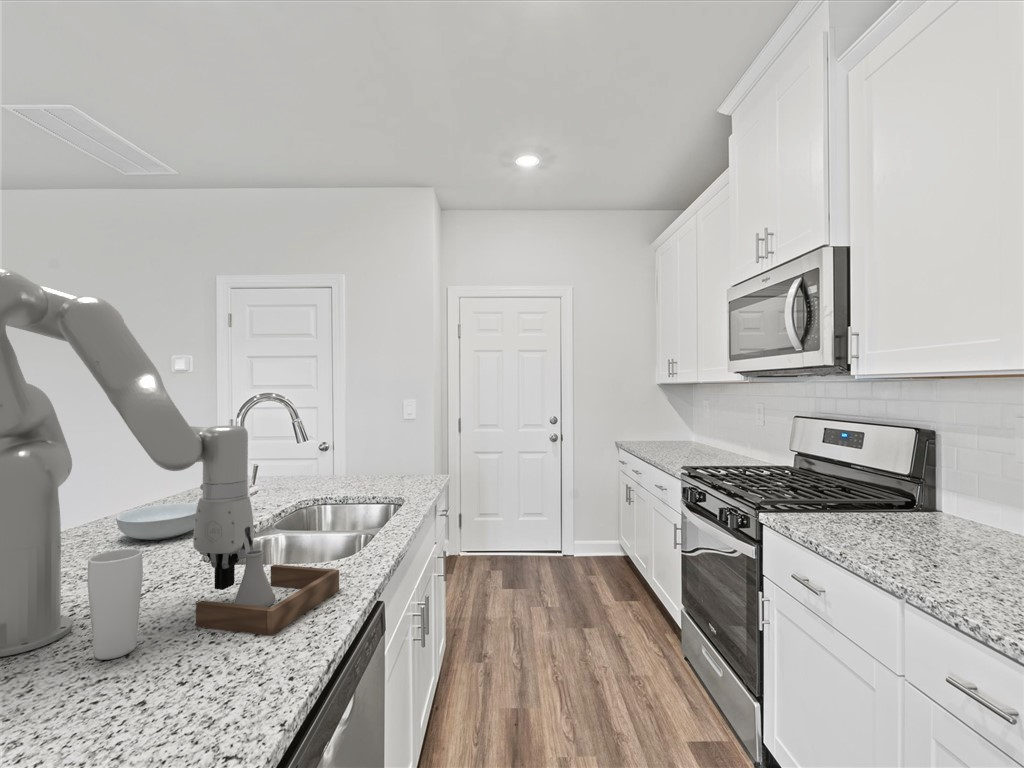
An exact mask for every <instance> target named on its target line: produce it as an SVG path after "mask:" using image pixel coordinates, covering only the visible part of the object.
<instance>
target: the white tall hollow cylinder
mask: <svg viewBox="0 0 1024 768" xmlns="http://www.w3.org/2000/svg"><path fill="white" fill-rule="evenodd" d="M87 563H88V564H87V594H88V604H89V605H88V606H89V612H90V622H91V631H92V632H91V633H92V643H93V649H92V650H93V651H92V652H93V657H94V658H95V659H97V660H101V661H102V660H103V661H104V660H105V661H107V660H113V659H117V658H121V657H123V656H126V655H128V654H130V653H131V652H132V651H134V650H135V649H136V647H137V645H138V629H139V628H138V627H139V625H138V624H139V616H140V609H141V599H142V598H141V597H142V587H143V573H144V572H143V570H144V567H143V566H144V565H143V551H142V550H141V549H139V548H138V549H137V548H124V549H123V548H122V549H116V550H110V551H109V550H108V551H106V552H104V551H103V552H101V553H98V554H95V555H92V556H91V557H90V558H89V559H88V562H87Z"/></svg>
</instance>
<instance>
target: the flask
mask: <svg viewBox="0 0 1024 768" xmlns="http://www.w3.org/2000/svg"><path fill="white" fill-rule="evenodd" d="M250 551H251V554H247V553H244V557H246V558H245V567H244V572H243V575H242V579H241V581H240V584H239V587H238V590H237V592H236V596H235V597H234V600H233V602H232V604H241V605H251V606H261V607H270V606H273V604H274V603H275V600H276V596H275V593H274V591H273V589H272V586H271V583H270V581H269V580H268V577H267V574H266V572H265V570H264V565H263V554H264V551H265V550H263V549H250Z"/></svg>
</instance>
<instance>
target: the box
mask: <svg viewBox="0 0 1024 768" xmlns="http://www.w3.org/2000/svg"><path fill="white" fill-rule="evenodd" d="M270 586H271V587H279V588H289V589H290V588H291V589H299V590H298V591H296V592H294V593H292V594H291V595H289V596H287V597H286V598H285V599H283V600H281V601H279V602H278V603H276V604H274V605H272V606H271V607H270V606H268V607H261V606H251V605H241V604H233V603H229V602H223V601H222V602H219V601H211V600H199V601H197V602H196V603H195V627H196V628H204V629H214V630H220V631H221V630H222V631H231V632H239V633H244V634H245V633H248V634H254V635H264V636H274V635H275V634H277V633H278V632H280V631H281V630H283V629H285V628H287V626H289V625H290V624H291V623H293V622H294V621H296V620H298V619H299V618H300V617H302V616H303V615H305V614H306V613H308V612H309V611H310V610H312V609H313V608H314V607H316V606H318V605H319V604H321V603H322V602H323V601H325V600H327V599H328V598H329V597H331V596H332V595H333V594H335V593H336V592H338V591H340V569H336V568H335V569H334V568H321V567H308V566H299V565H285V564H272V565H270Z"/></svg>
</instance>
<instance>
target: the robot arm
mask: <svg viewBox="0 0 1024 768" xmlns="http://www.w3.org/2000/svg"><path fill="white" fill-rule="evenodd" d="M7 327H11V328H14V329H18V330H23V331H26V332H30V333H34V334H37V335H40V336H45V337H48V338H52V339H54V340H55V339H56V340H60V341H63V342H67V343H68V344H69V346H70V347H71V348H72V349H73V350H74V352H75V354H76V355H77V356H78V357H79V358H80V360H81V361H82V362H83V364H84V366H85V367H86V368H87V369H88V371H89V372H90V373H91V375H92V376H93V378H94V380H95V381H96V382H97V384H98V385H99V387H100V388H101V389H102V391H103V392H104V393H105V395H106V397H107V399H108V400H109V402H110V403H111V405H112V406H113V407H114V408H115V409H116V411H117V412H118V413H119V415H120V417H121V418H122V420H123V422H124V423H125V425H126V427H127V428H128V429H129V430H130V432H131V433H132V435H133V436H134V437H135V439H136V440H137V441H138V443H139V444H140V446H141V447H142V449H144V451H145V453H146V454H147V455H148V456H149V458H150V460H152V461H153V463H155V464H156V465H157V466H158V467H159V468H161V469H163V470H166V471H169V472H179V471H180V472H181V471H184V470H187V469H189V468H191V467H193V466H194V465H195V464H196V463H201V462H202V483H201V485H200V488H199V489H200V490H201V491H202V497H200V498H199V499H198V503H197V504H198V506H197V510H196V515H195V523H194V529H193V537H192V538H193V539H192V542H193V543H192V544H193V549H194V550H195V551H197V552H198V553H199V554H200V555H201V556H204V557H207V558H208V560H209V561H210V565H211V567H212V569H213V568H214V590H220V591H224V590H226V589H228V588H230V587H232V586H234V585H235V574H236V573H235V572H236V571H235V565H238V564H239V561H240V560H243V559H246V557H244V553H247V554H251V551H250V550H251V547H253V545H254V533H255V532H254V514H253V508H252V501H251V499H250V498H251V497H250V496H248V483H249V482H248V479H249V478H248V474H249V473H248V470H249V469H248V468H249V467H248V465H249V463H248V462H249V461H248V460H249V459H248V456H249V455H248V454H249V452H248V451H249V450H248V449H249V448H248V447H249V435H248V434H249V433H248V430H247V428H246V427H244V426H242V425H216V426H215V425H213V426H210V427H206V426H205V427H204V426H194V425H193V426H192V425H190V424H189V423H188V422H187V420H186V419H185V418H184V416H183V415H182V413H181V412H180V410H179V409H178V408H177V406H176V405H175V403H174V402H173V400H172V398H171V397H170V395H169V393H168V391H167V390H166V388H165V386H164V385H165V384H164V383H163V380H162V376H161V375H160V373H159V371H158V369H157V367H156V365H155V364H154V363H153V362H152V360H151V359H150V356H148V354H147V353H146V352H145V350H144V349H143V347H142V346H141V345H140V343H139V342H138V340H137V339H136V337H135V336H134V335H133V333H132V331H130V329H129V327H128V326H127V324H126V322H125V320H124V318H123V316H122V315H121V313H120V312H119V311H118V310H117V309H116V308H115V307H114V306H112V305H111V303H109V302H108V301H106V300H105V299H103V298H100V297H96V296H91V295H90V296H89V295H83V296H75V295H72V294H68V293H65V292H62V291H59V290H56V289H53V288H50V287H46V286H43V285H40V284H37V283H35V282H33V281H31V280H29V279H27V277H25V276H23V275H21V274H19V273H17V272H15V271H13V270H10V269H8V268H4V267H2V266H0V658H3V657H8V656H12V655H17V654H22V653H26V652H29V651H32V650H33V651H34V650H35V649H39V648H41V647H43V646H46V645H49V644H51V643H54V642H56V641H58V640H60V639H61V638H63V637H64V636H66V635H67V634H69V633H70V632H71V630H72V629H73V619H72V618H70V617H68V616H64V615H63V616H62V615H61V614H62V613H61V610H62V609H61V606H62V604H61V602H62V601H61V600H62V599H61V596H62V594H61V591H62V590H61V587H62V585H61V584H62V580H61V579H62V576H61V575H62V574H61V573H62V564H61V563H62V562H61V561H62V560H61V559H62V558H61V557H62V556H61V555H62V552H61V551H62V537H61V533H62V532H61V530H62V529H61V525H62V523H61V510H60V509H61V508H60V500H59V499H60V498H59V487H61V485H63V483H64V482H66V480H68V478H69V476H70V474H71V472H72V468H73V460H72V455H71V452H70V449H69V446H68V443H67V441H66V438H65V434H64V433H63V429H62V427H61V424H60V421H59V418H58V416H57V413H56V411H55V407H54V405H53V403H52V401H51V400H50V398H49V397H48V395H47V393H45V392H44V391H43V390H42V389H40V388H39V387H37V386H35V385H33V384H30V383H28V382H27V381H26V379H25V377H24V376H25V375H24V374H23V372H22V369H21V366H20V365H19V361H18V358H17V354H16V351H15V350H14V347H13V346H12V343H11V341H10V339H9V337H8V334H7V331H6V329H7Z"/></svg>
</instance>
